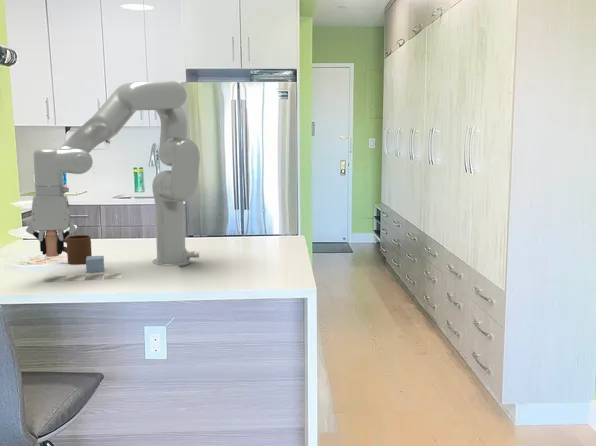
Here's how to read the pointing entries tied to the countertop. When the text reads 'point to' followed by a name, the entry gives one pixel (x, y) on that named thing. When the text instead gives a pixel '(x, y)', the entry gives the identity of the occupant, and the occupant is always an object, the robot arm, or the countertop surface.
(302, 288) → the countertop surface
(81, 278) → the track
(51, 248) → the pawn
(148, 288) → the countertop surface
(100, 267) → the light blue cube
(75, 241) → the mug
